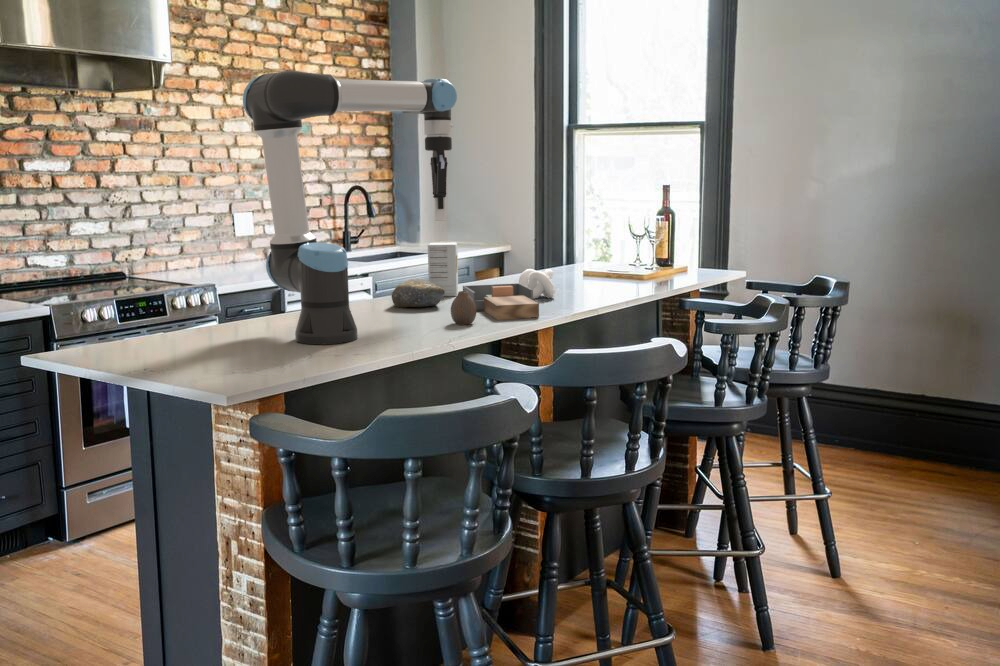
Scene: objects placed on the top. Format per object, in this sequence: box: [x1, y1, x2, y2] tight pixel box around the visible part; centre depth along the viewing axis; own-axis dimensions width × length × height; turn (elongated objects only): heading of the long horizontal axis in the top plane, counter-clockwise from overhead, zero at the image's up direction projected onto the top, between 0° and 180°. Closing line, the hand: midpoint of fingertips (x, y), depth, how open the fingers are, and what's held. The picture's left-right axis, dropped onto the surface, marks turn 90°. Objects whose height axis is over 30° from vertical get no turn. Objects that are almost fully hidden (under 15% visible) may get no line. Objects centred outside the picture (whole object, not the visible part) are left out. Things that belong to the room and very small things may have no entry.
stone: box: [391, 278, 445, 308], centre depth 276 cm, size 14×19×8 cm
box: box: [462, 282, 534, 312], centre depth 275 cm, size 18×15×6 cm
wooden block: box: [484, 295, 540, 321], centre depth 260 cm, size 12×16×4 cm
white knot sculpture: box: [518, 268, 556, 300], centre depth 290 cm, size 11×12×9 cm
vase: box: [450, 290, 477, 326], centre depth 245 cm, size 7×7×9 cm
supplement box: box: [427, 241, 459, 297], centre depth 299 cm, size 10×9×17 cm
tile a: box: [491, 286, 513, 297], centre depth 270 cm, size 6×6×2 cm
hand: (440, 220), depth 261 cm, fingers closed
